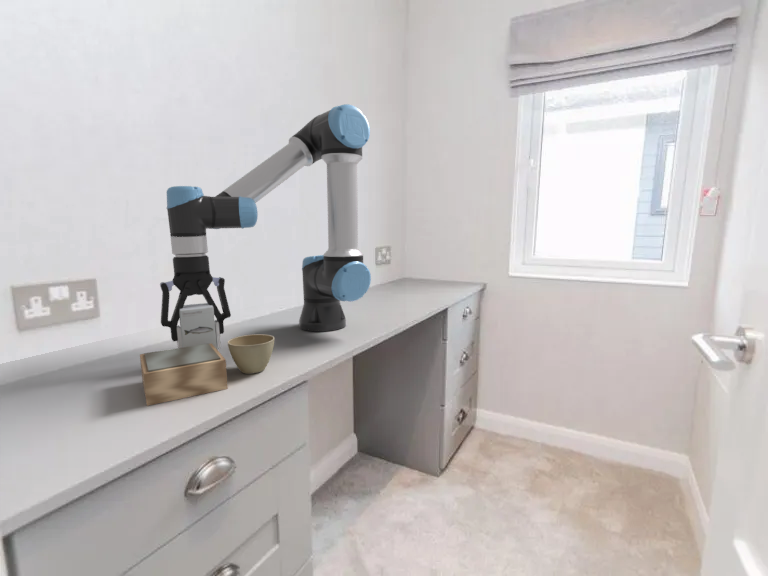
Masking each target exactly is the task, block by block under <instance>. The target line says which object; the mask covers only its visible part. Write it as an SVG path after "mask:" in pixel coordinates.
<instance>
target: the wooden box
mask: <svg viewBox="0 0 768 576" xmlns="http://www.w3.org/2000/svg"><path fill="white" fill-rule="evenodd" d="M139 359H140V360H139V361H140V370H141V371H140V372H141V380H142V387H143V392H144V396H145V402H146V406H147V407H149V406H153V405H157V404H162V403H167V402H172V401H176V400H177V401H178V400H180V399H187V398H190V397H195V396H199V395H204V394H209V393H213V392H217V391H223V390H227V389H228V388H229V386H228V375H227V374H228V373H227V360H226V358H225V357H224V356H223V355H222V353H220V351H219V349H218V348H217V349H216V348H215V347H214V346H213V344H203V345H196V346H190V347H183V348H178V347H177V348H172V349H171V348H170V349H165V350H158V351H152V352H145V353H142V354H139Z"/></svg>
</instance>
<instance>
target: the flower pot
mask: <svg viewBox="0 0 768 576" xmlns="http://www.w3.org/2000/svg"><path fill="white" fill-rule="evenodd" d="M227 347H228V351H229V354H230V357H231V358H232V360H233V362H234V364H235V366H236V367H237V368H238V369H239V371H240V372H241V373H243V374H245V375H248V374H249V375H251V374H258V373H261V372H263V371H265V370H266V369H267V367H268V364H269V362H270V359H271V357H272V355H273V352H274V351H273V350H274V347H275V336H274V335H270V334H263V333H262V334H259V333H258V334H257V333H256V334H245V335H240V336H235V337H233V338H231V339H229V340H227Z"/></svg>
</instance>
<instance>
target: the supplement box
mask: <svg viewBox="0 0 768 576" xmlns="http://www.w3.org/2000/svg"><path fill="white" fill-rule="evenodd" d="M179 314H180V318H179V326H180V328H181V336H182V346H183V347H190V346H196V345H203V344H213V346H214V347H215V348H216V349H217V350H218V348H217V343H216V332H215V320H216V318H215V315H214V308H213V306H212V305H209V304H208V303H207V302H203V303H192V304H184V306H183V308H182V309H180V310H179Z"/></svg>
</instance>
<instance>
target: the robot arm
mask: <svg viewBox="0 0 768 576" xmlns="http://www.w3.org/2000/svg"><path fill="white" fill-rule="evenodd" d="M370 134H371V127H370V124H369V121H368V119H367V117H366V115H365V114H363V111H362V110H360V108H358V107H357V106H355V105H352V104H348V103H347V104H341V105H337V106H334V107H332V108H331V109H330V110H327V111H326V112H323V113H321V114H318V115H316V116H315V117H313V118H312V119H311V120H310V121H308V122H307V124H305V125H304V126H303V127H302V128H301V129H300V130H298V131H297V132H296V133H294V134H293V135H292V136H291V137H290V138H289V139H288V143H287V144H286V145H285V146H283V147H282V148H281V149H279V150H278V151H276V152H275V153H274V154H272V155H271V156H270V157H268V158H267V159H265V160H264V161H263V162H261V163H260V164H258V165H257V166H255V167H254V168H253V169H251V170H250V171H249V172H247V173H245V174H244V175H243V176H241V177H240V178H238V179H237V180H236V181H235V182H234V183H232V184H230V185H229V186H228V187H227V188H224V189H223V190H222V191H221V192H220V193H218V194H217V195H216V196H209V195H204V192H203V189H202V188H201V187H198V186H191V185H176V186H171V187H169V188H167V190H166V210H167V211H166V212H167V217H168V226H169V227H168V228H169V233H170V234H169V235H170V236H169V237H170V245H171V254H173V255H174V256H173V258H172V266H173V278H172V280H170V281H162V282H160V284H159V286H160V289H161V292H162V295H161V313H160V324H161V326H162V327H166V328H169V329H170V337H171V340H172V342H176V343H177V344H176V345H177V348H183V346H182V336H181V328H180V324H179V325H178V323H179V322H180V314H179V310H180V309H182V308H183V306H184V305H185V304H186V300H187V298H188V297H190V296H191V297H192V296H195V295H198V296H201V295H202V297H203V298H204V300H205V301H206V303H208V304H209V305H212V306H213V308H214V318H215V332H216V343H217V350H219V349H222V346H221V343H222V342H221V334H222V335H223V334H224V333H225V328H224V327H225V325H224V320H226V319H228V318H230V317H231V316H232V314H231V311H230V310H231V309H230V306H229V302H228V298H227V295H226V291H225V282H226V281H225V280H226V279H225V278H224V277H220V276H219V277H214V276H212V274H211V271H210V261H209V256H208V255H207V254H208V252H209V250H208V249H209V246H208V239H207V230H208V229H211V230H213V229H214V230H220V229H247V228H249V229H250V228H253V227H255V225H256V224H257V222H258V215H259V214H258V206H257V204H256V203H257V202H259V201H260V200H262V199H263V198H264V197H266V196H267V195H268V194H270V193H271V192H272V191H274V190H275V189H276V188H278V186H280V185H281V184H283V183H284V182H285V181H287V180H288V179H289V178H290V177H292V176H293V175H294V174H296V173H297V172H298V171H300V170H301V169H302V168H304V167H311V166H312V165H313V164H315V163H316V162H318V161H319V160H322V161H324V163H325V164H326V189H327V191H326V193H327V194H326V195H327V196H326V197H327V235H328V237H327V238H328V239H327V240H328V241H327V242H328V248H327V250H326V251H325V252H324V254H321V255H312V256H306V257H304V258H303V259H302V265H301V271H302V272H301V273H302V289H303V290H302V292H303V304H302V305H303V306H302V310H301V312H300V316H299V320H298V326H299V329H300V330H303V331H306V332H332V331H336V330H341V329H344V328H345V327H346V326H347V319H346V315H345V313H344V309H343V308H342V307H343V306H342V305H341V302H355V301H358V300H360V299H361V298H363V297H364V295H365V294H366V293H367V292H368V291H369V288H370V286H371V282H372V278H371V277H372V276H371V272H370V269H369V268H368V266H367V265H365V263H364V254H363V252H362V251H360V250H359V236H358V235H359V230H358V229H359V228H358V227H359V226H358V225H359V224H358V223H359V222H358V221H359V219H358V218H359V217H358V216H359V215H358V164H359V162H361V160H363V147H364V146H365V145H366V144H367V142H369V139H370ZM212 283H213V285H214V286H215V287H216V290H217V291H216V292H217V294H218V298H219V302H220V306H221V310H222V313H221V312H220V310H219V308H218V306H217V305H216V303H215V301H214V299H213V298H212V296H211V294H210V293H211V292H209V290H208V289H209V287H210V286H211V284H212ZM173 286H174V287H176V288H177V289H178V290H179V291H180V292H179V293H178V297H177V301H176V303H175V306H174V310H173V313H172V316H171V319H170V320H169V308H170V292H172V291H173Z"/></svg>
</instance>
